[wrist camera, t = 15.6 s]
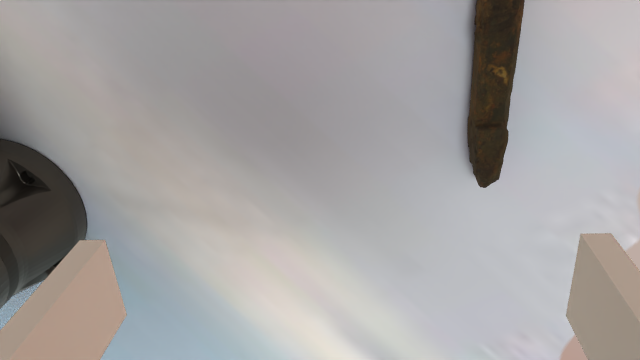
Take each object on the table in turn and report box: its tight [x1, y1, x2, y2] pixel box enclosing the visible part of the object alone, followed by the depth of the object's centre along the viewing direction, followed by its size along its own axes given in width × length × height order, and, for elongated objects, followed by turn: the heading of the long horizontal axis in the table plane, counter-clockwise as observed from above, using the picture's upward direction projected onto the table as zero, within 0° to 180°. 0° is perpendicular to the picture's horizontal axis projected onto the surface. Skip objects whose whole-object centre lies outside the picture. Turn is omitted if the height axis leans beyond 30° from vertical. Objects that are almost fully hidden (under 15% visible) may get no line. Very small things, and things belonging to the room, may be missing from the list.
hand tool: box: [468, 0, 524, 188], centre depth 41 cm, size 19×4×5 cm, turn 0°
